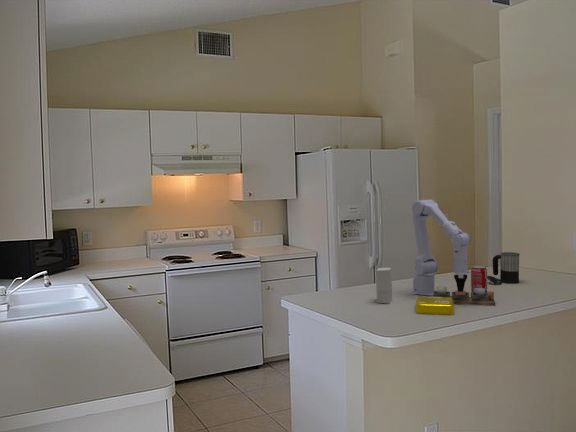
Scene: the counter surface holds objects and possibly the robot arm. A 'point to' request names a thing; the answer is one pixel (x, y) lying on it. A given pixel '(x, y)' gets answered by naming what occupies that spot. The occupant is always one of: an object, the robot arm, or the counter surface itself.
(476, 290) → the slate button
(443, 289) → the sage button
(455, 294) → the terracotta button
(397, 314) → the counter surface
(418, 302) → the element tile
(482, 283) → the soda can
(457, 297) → the panel
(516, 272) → the milk frother
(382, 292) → the skincare box
